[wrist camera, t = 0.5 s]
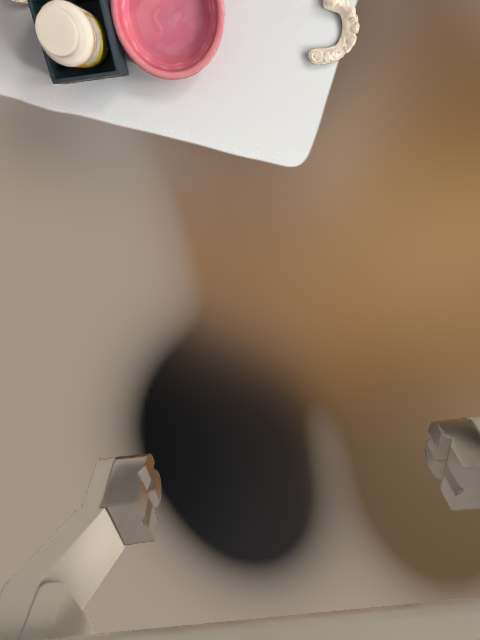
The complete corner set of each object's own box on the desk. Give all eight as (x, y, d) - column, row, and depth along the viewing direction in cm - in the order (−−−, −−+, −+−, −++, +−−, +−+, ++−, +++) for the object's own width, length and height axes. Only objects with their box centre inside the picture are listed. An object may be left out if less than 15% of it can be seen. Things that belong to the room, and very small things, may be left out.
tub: (43, 4, 45) (25, -4, 41) (111, -6, 45) (99, -15, 41) (67, 83, 49) (52, 83, 45) (129, 75, 49) (120, 74, 45)
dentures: (342, 72, 50) (345, 72, 48) (305, 61, 49) (308, 60, 47) (365, 2, 46) (369, 0, 45) (326, -12, 45) (329, -14, 44)
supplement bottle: (53, 41, 47) (14, 31, 38) (80, -2, 45) (45, -23, 36) (94, 80, 49) (65, 79, 40) (121, 40, 47) (97, 31, 38)
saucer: (111, -60, 42) (103, -70, 40) (226, -50, 43) (227, -58, 41) (121, 76, 49) (115, 75, 46) (222, 83, 50) (222, 83, 47)
